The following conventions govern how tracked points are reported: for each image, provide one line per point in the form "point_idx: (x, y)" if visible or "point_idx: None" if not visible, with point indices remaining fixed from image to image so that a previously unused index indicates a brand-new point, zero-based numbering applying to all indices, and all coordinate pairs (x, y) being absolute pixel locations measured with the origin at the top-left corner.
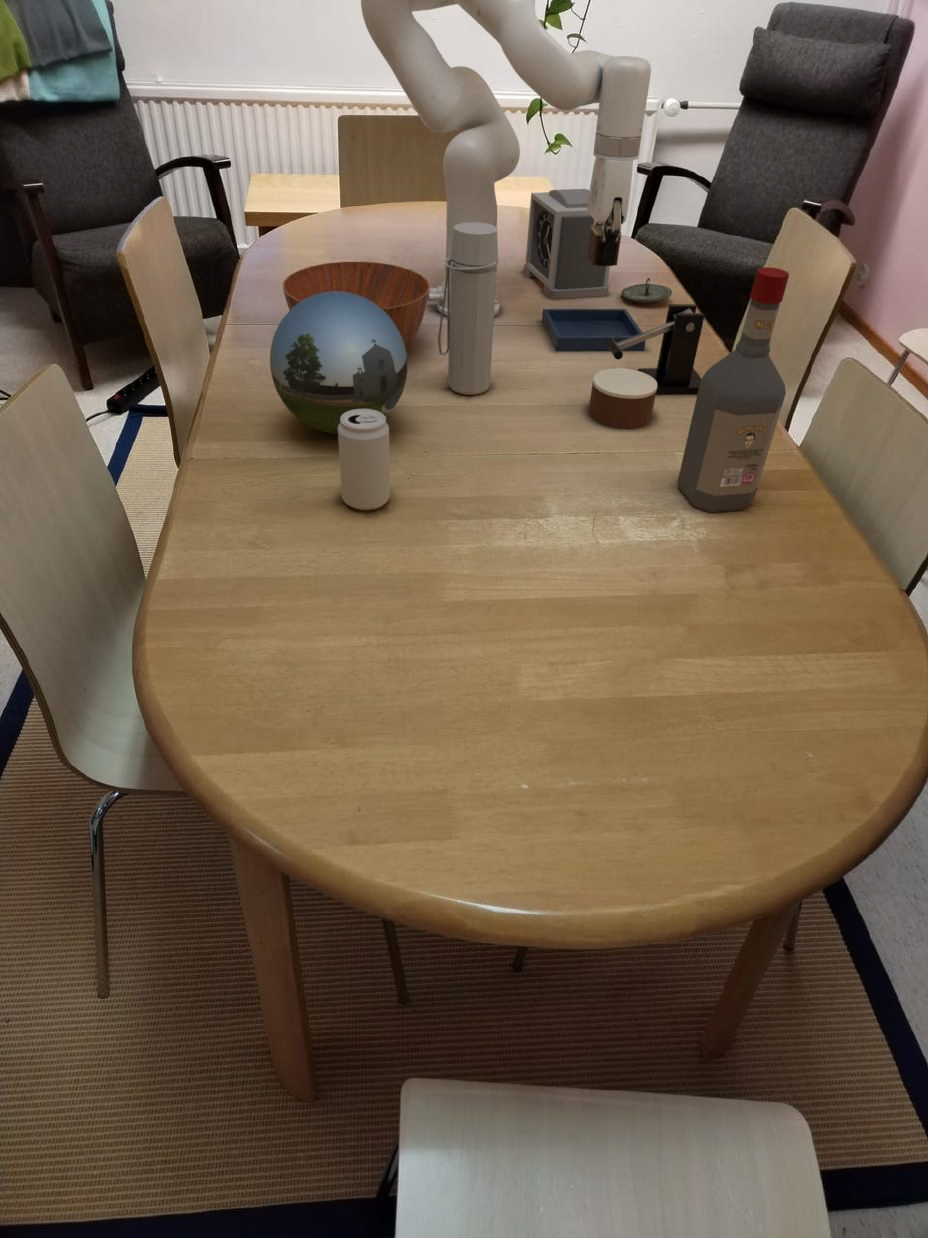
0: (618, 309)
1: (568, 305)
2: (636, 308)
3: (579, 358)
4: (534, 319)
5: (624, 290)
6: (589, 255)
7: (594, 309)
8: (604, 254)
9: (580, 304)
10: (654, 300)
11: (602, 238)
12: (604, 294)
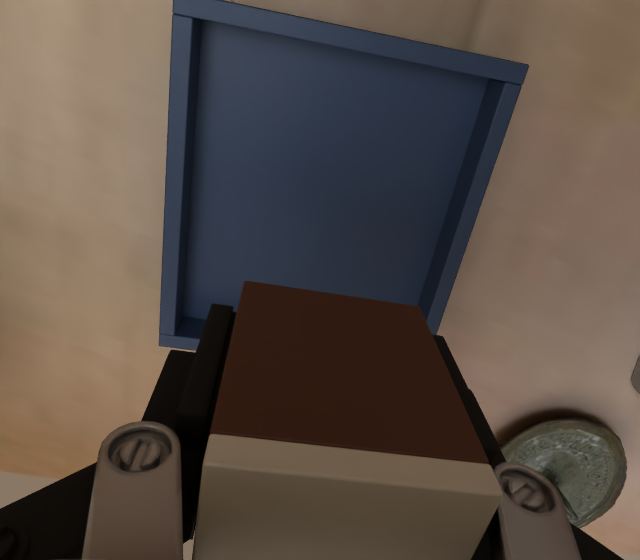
0: None
1: (613, 236)
2: (496, 422)
3: (107, 71)
4: (541, 39)
5: (604, 437)
6: (370, 313)
7: (447, 279)
8: (159, 380)
9: (601, 280)
10: None
11: (144, 455)
12: (633, 380)
